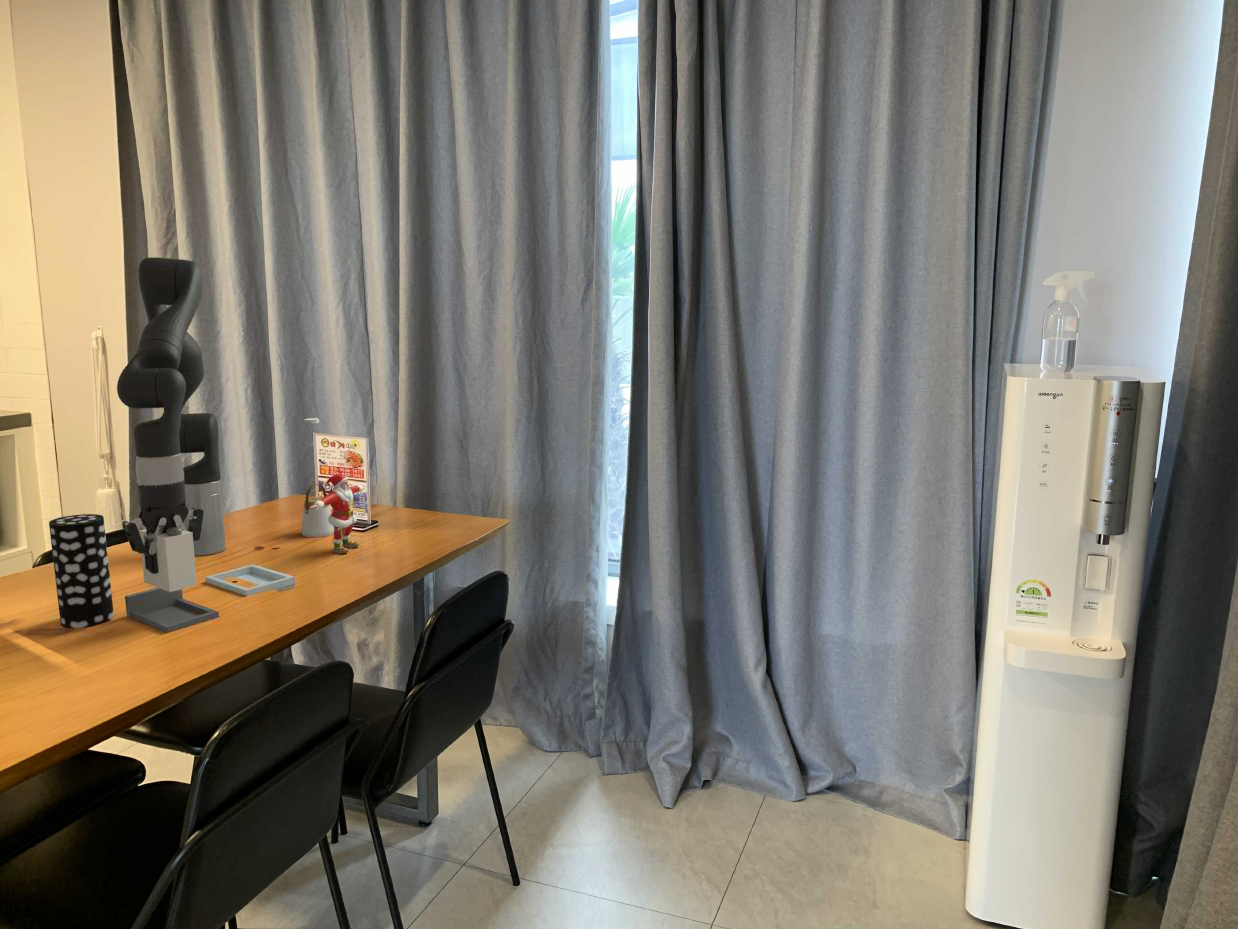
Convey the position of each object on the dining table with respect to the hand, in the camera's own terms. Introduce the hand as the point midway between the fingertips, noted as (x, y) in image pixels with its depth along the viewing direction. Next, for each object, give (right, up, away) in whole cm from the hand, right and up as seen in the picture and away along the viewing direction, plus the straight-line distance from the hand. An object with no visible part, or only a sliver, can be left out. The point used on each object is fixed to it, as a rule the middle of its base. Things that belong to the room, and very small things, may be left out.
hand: (169, 568), depth 155 cm
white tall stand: (+5, +1, +64) cm, 64 cm away
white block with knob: (0, -3, +1) cm, 3 cm away
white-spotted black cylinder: (-15, -11, 0) cm, 18 cm away
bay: (0, -10, +2) cm, 10 cm away
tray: (+6, -6, +22) cm, 23 cm away
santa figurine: (+16, -2, +49) cm, 52 cm away
